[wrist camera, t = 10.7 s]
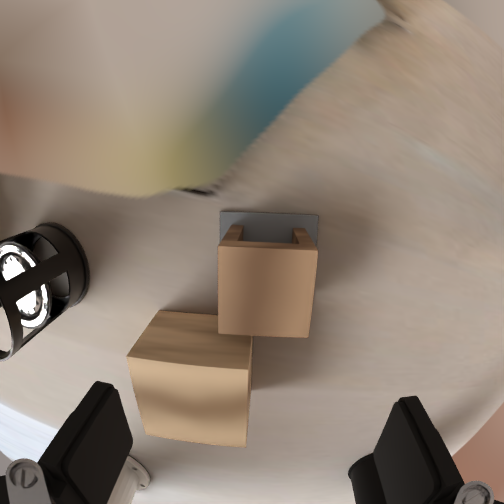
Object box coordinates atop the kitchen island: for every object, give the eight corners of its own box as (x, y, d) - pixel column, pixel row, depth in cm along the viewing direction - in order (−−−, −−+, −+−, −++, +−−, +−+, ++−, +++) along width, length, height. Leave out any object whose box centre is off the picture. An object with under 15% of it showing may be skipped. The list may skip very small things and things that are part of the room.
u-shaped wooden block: (304, 228, 25) (318, 250, 18) (299, 296, 27) (308, 337, 20) (231, 224, 25) (218, 245, 19) (230, 292, 27) (218, 333, 20)
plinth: (250, 390, 30) (245, 447, 23) (168, 382, 31) (145, 434, 23) (253, 317, 28) (248, 369, 20) (158, 310, 28) (126, 356, 21)
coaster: (309, 304, 27) (310, 306, 27) (220, 300, 28) (219, 302, 27) (317, 215, 25) (318, 216, 25) (220, 211, 25) (219, 211, 25)
